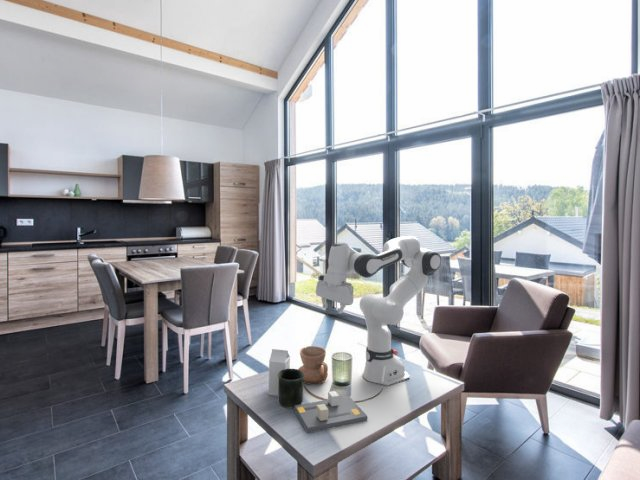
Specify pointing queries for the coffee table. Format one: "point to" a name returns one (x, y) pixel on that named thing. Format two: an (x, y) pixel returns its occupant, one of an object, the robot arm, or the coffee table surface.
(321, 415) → the sand slider
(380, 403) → the coffee table surface
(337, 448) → the coffee table surface
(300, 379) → the mug
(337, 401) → the off white slider
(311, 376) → the ceramic jug
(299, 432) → the coffee table surface
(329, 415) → the switch panel
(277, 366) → the milk carton
